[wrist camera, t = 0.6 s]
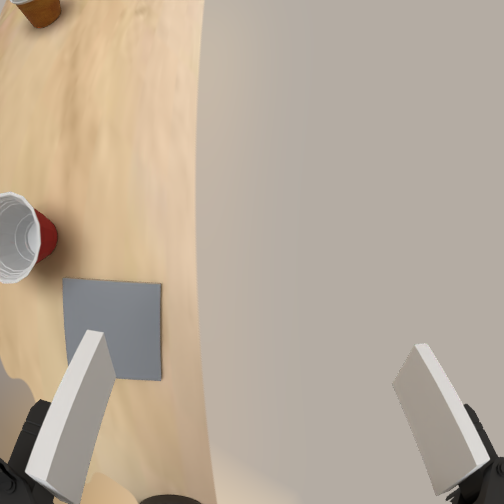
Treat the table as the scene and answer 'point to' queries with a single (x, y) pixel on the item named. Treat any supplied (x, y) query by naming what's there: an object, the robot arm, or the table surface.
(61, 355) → the table surface
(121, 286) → the slate tile
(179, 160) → the table surface
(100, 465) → the table surface
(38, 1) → the disposable coffee cup
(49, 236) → the plastic cup
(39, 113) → the table surface
